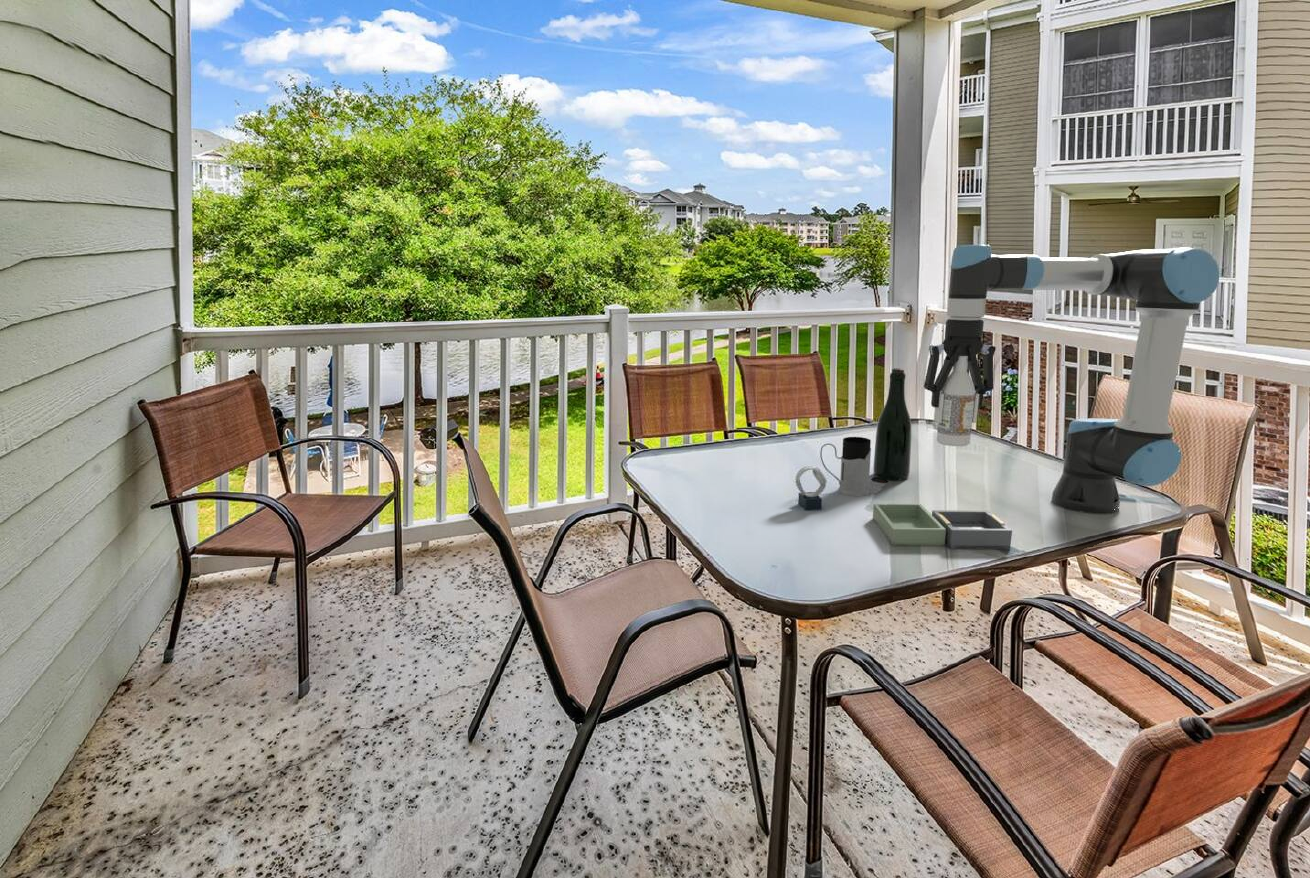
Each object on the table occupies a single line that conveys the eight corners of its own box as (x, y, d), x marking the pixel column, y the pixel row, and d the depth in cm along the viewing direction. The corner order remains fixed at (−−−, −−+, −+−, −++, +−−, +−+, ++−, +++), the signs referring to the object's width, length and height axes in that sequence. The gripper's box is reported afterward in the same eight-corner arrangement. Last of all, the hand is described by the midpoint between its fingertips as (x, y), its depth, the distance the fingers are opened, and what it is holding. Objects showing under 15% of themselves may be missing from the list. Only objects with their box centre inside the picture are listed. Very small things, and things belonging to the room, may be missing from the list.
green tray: (919, 518, 171) (920, 503, 170) (944, 546, 154) (945, 529, 153) (872, 518, 171) (873, 503, 170) (892, 545, 154) (893, 529, 153)
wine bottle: (875, 480, 202) (882, 370, 195) (870, 471, 212) (876, 366, 205) (912, 481, 201) (920, 371, 193) (905, 472, 211) (913, 366, 203)
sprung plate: (982, 526, 162) (982, 523, 162) (1000, 542, 152) (1001, 539, 152) (939, 526, 163) (939, 523, 163) (955, 542, 153) (955, 539, 153)
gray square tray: (985, 528, 164) (987, 509, 163) (1010, 549, 151) (1012, 529, 150) (930, 528, 165) (932, 509, 163) (950, 549, 152) (952, 528, 151)
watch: (828, 509, 179) (830, 469, 176) (799, 511, 178) (800, 470, 175) (820, 502, 184) (821, 463, 182) (791, 504, 183) (793, 465, 181)
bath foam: (958, 448, 149) (967, 357, 145) (930, 442, 155) (938, 354, 150) (976, 444, 153) (985, 355, 149) (948, 438, 159) (956, 352, 154)
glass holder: (872, 496, 189) (875, 444, 185) (819, 494, 191) (821, 442, 188) (868, 486, 197) (871, 436, 193) (817, 485, 199) (819, 435, 196)
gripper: (1003, 317, 151) (992, 418, 156) (913, 317, 152) (904, 418, 157) (1020, 319, 144) (1007, 425, 149) (924, 319, 144) (915, 424, 150)
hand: (954, 421), depth 153 cm, fingers closed on bath foam, 7 cm apart
